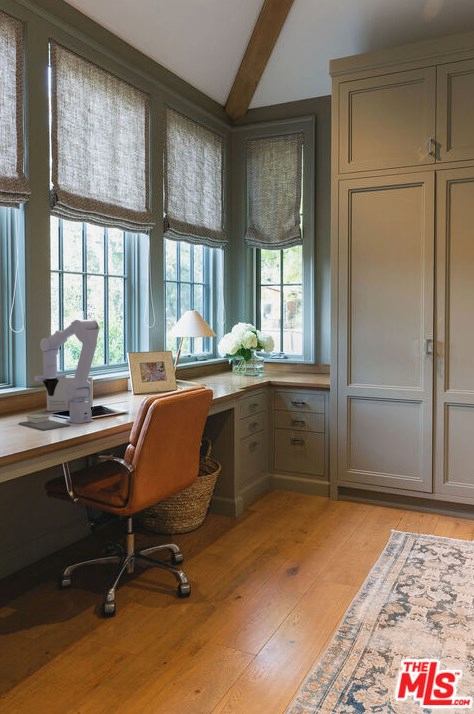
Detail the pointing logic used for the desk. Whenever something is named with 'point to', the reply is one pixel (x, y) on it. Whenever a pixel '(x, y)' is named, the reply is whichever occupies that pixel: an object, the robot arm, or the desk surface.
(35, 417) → the tile
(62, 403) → the skincare box
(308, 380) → the desk surface
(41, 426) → the mat
